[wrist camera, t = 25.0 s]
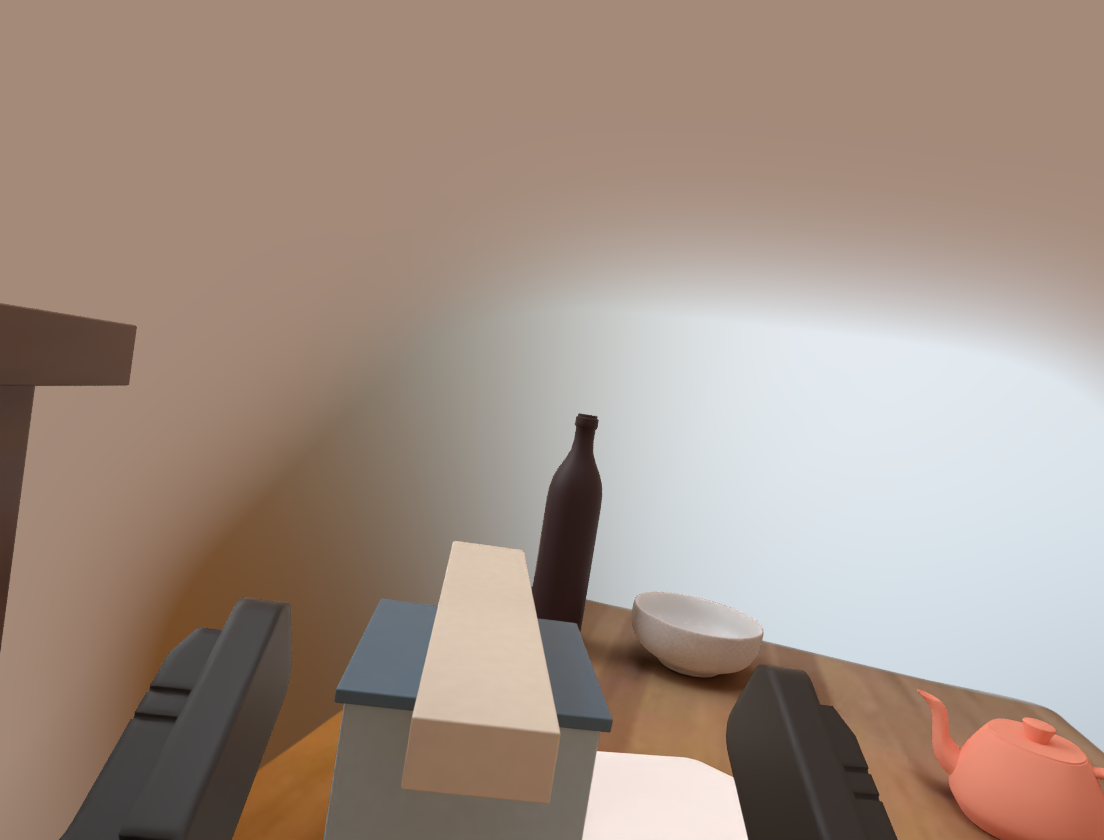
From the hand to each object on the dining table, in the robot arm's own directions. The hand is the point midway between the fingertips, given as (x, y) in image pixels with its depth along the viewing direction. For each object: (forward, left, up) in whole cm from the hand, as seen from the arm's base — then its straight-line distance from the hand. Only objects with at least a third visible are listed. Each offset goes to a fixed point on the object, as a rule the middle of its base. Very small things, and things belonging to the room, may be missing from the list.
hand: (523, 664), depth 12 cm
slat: (0, +16, -6) cm, 17 cm away
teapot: (+52, +44, -27) cm, 74 cm away
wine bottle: (+12, +74, -27) cm, 80 cm away
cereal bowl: (+30, +72, -27) cm, 83 cm away
